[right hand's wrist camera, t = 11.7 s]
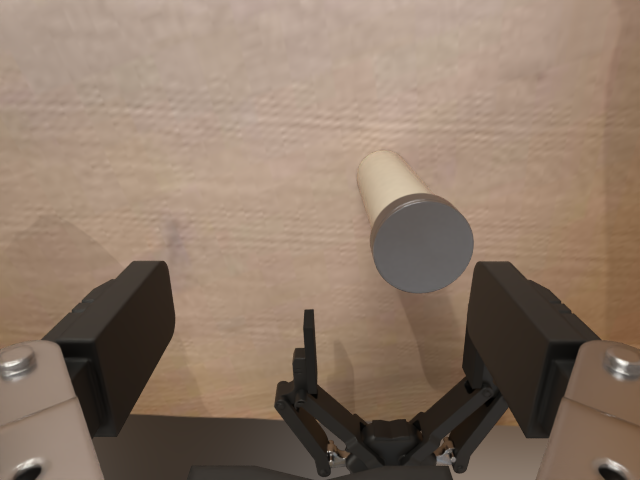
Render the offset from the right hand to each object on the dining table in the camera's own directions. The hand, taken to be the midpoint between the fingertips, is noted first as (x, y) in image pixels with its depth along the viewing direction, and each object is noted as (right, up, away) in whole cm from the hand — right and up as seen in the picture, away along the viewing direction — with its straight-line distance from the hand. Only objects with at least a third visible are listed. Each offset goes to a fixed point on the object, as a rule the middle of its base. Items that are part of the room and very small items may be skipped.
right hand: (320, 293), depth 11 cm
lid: (+5, +1, +11) cm, 12 cm away
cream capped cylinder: (+5, +7, +25) cm, 26 cm away
